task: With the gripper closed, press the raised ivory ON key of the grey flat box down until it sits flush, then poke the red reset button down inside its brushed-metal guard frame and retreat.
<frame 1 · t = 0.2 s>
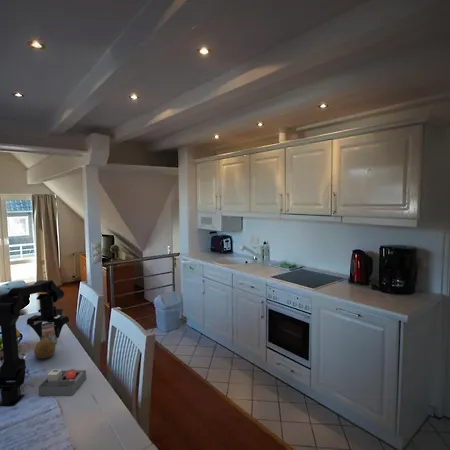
hand: (49, 337, 153), 14 cm above the table, fingers open, 9 cm apart
beverage can: (48, 345, 177), on the table
grey flat box: (63, 387, 136), on the table
on key: (54, 377, 135), point 4 cm above the table, slide at 0.0 cm
potato: (45, 356, 163), on the table
reset button: (70, 377, 135), point 4 cm above the table, slide at 0.0 cm
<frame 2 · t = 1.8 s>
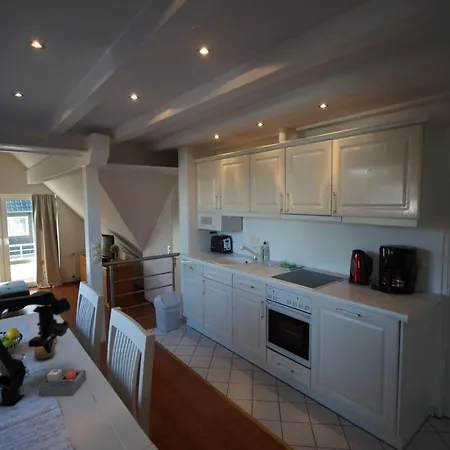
hand: (49, 352, 142), 12 cm above the table, fingers closed
nothing on the table moved.
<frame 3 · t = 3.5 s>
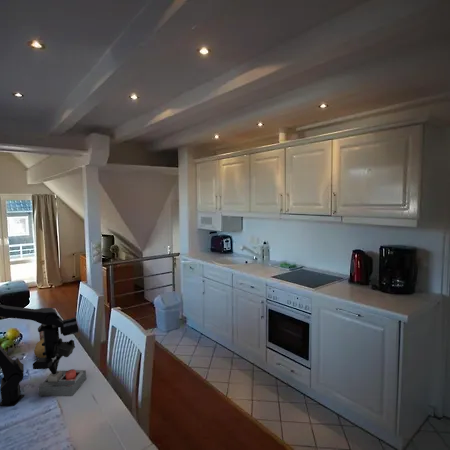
hand: (54, 373, 135), 6 cm above the table, fingers closed
on key: (55, 379, 136), point 4 cm above the table, slide at 0.8 cm, touching gripper
everything else where it was.
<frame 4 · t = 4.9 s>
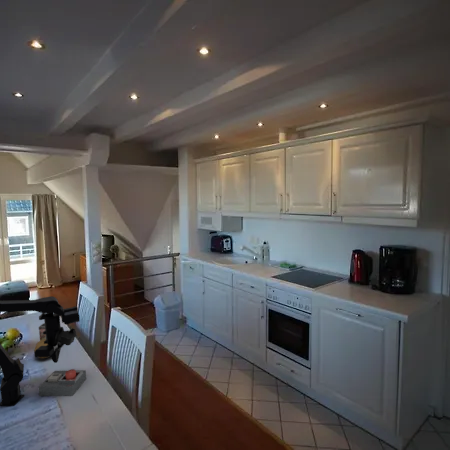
hand: (56, 362, 135), 11 cm above the table, fingers closed
on key: (55, 381, 136), point 3 cm above the table, slide at 1.8 cm
everything else where it was.
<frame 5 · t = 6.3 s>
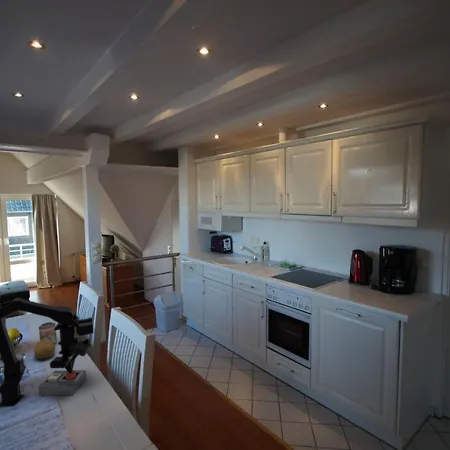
hand: (70, 372, 135), 6 cm above the table, fingers closed, pressing on reset button
reset button: (71, 378, 135), point 4 cm above the table, slide at 0.4 cm, touching gripper
everything else where it was.
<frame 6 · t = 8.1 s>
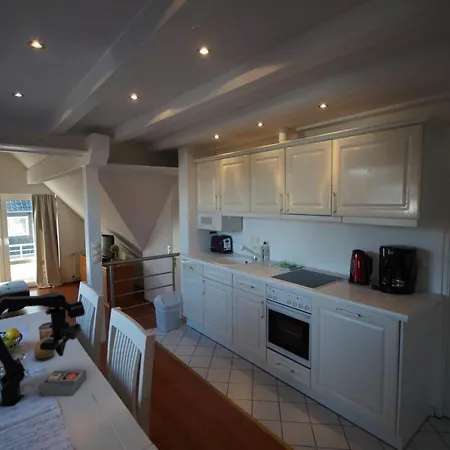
hand: (61, 355, 139), 12 cm above the table, fingers closed
reset button: (71, 381, 135), point 3 cm above the table, slide at 1.8 cm
everything else where it was.
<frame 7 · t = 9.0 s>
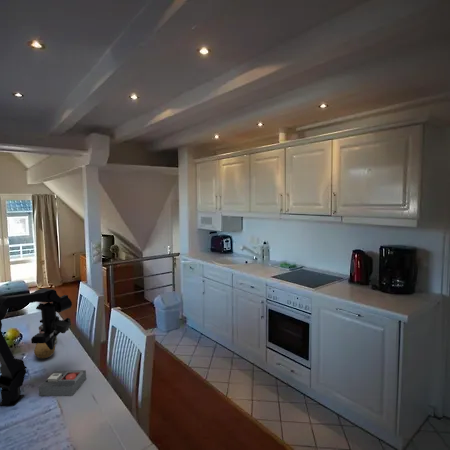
hand: (51, 349, 144), 12 cm above the table, fingers closed
nothing on the table moved.
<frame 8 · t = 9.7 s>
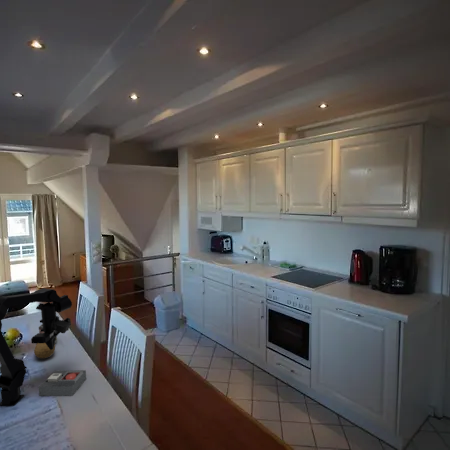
hand: (51, 349, 144), 12 cm above the table, fingers closed
nothing on the table moved.
at the end: on key slide at 1.8 cm; reset button slide at 1.8 cm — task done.
